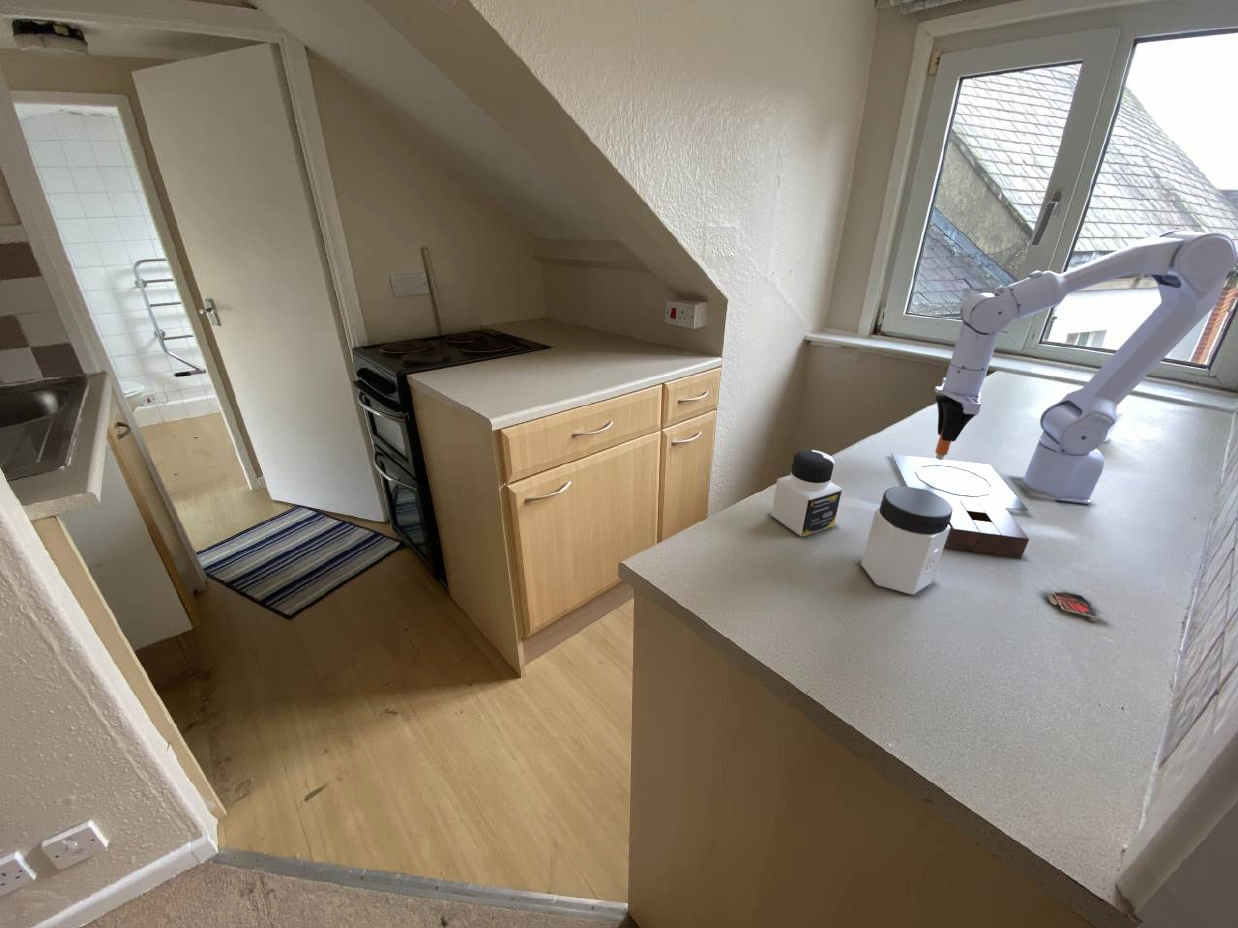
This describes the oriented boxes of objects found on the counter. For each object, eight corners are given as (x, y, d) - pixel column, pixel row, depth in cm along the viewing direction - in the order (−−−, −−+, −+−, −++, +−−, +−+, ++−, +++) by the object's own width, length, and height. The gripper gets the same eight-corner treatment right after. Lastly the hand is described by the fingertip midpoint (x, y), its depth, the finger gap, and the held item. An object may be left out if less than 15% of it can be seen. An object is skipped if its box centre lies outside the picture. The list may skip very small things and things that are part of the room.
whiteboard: (988, 469, 105) (990, 464, 104) (1026, 515, 89) (1029, 510, 88) (890, 458, 108) (891, 453, 108) (910, 501, 93) (912, 495, 92)
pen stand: (995, 523, 87) (1003, 504, 85) (1021, 558, 78) (1029, 539, 76) (929, 514, 89) (935, 496, 87) (946, 548, 80) (953, 528, 79)
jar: (904, 602, 69) (930, 525, 64) (850, 569, 75) (869, 496, 70) (941, 579, 73) (967, 505, 68) (886, 550, 79) (907, 479, 74)
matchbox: (1079, 594, 71) (1080, 592, 70) (1105, 622, 66) (1107, 619, 66) (1041, 591, 71) (1042, 588, 71) (1065, 618, 67) (1066, 615, 66)
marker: (943, 457, 101) (959, 407, 96) (946, 461, 99) (962, 411, 95) (932, 456, 101) (947, 406, 97) (934, 460, 99) (950, 410, 95)
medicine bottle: (801, 537, 82) (815, 469, 77) (770, 515, 88) (780, 450, 82) (834, 526, 85) (850, 459, 80) (801, 506, 91) (814, 442, 85)
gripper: (932, 354, 99) (913, 421, 105) (955, 375, 87) (932, 450, 93) (974, 356, 98) (952, 425, 104) (1004, 379, 85) (977, 455, 91)
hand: (946, 437), depth 98 cm, fingers closed on marker, 2 cm apart
